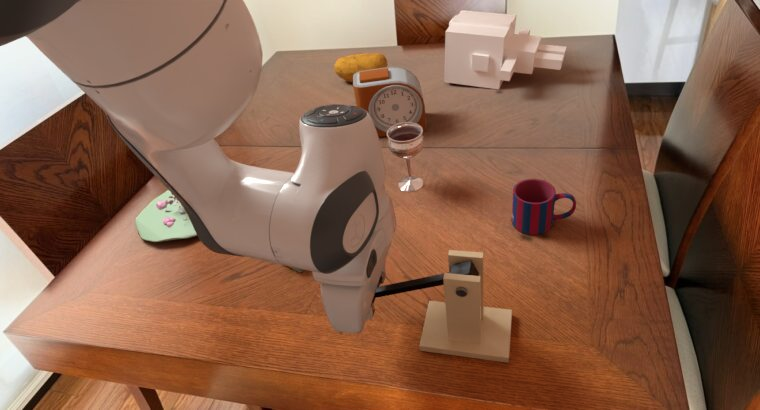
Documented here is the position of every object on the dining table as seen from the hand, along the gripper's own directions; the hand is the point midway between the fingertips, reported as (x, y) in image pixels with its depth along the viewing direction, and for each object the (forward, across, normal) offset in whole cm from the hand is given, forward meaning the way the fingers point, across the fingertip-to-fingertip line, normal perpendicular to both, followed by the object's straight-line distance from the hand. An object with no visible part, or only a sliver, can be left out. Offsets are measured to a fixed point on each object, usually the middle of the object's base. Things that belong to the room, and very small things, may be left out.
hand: (373, 297), depth 71 cm
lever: (-3, 0, +7) cm, 8 cm away
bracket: (+6, 0, +13) cm, 14 cm away
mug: (+6, -24, +23) cm, 34 cm away
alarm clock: (+6, -54, -10) cm, 56 cm away
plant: (+6, -23, -46) cm, 52 cm away
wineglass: (+6, -33, -2) cm, 34 cm away
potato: (+6, -79, -25) cm, 83 cm away
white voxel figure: (+6, -79, +13) cm, 81 cm away
